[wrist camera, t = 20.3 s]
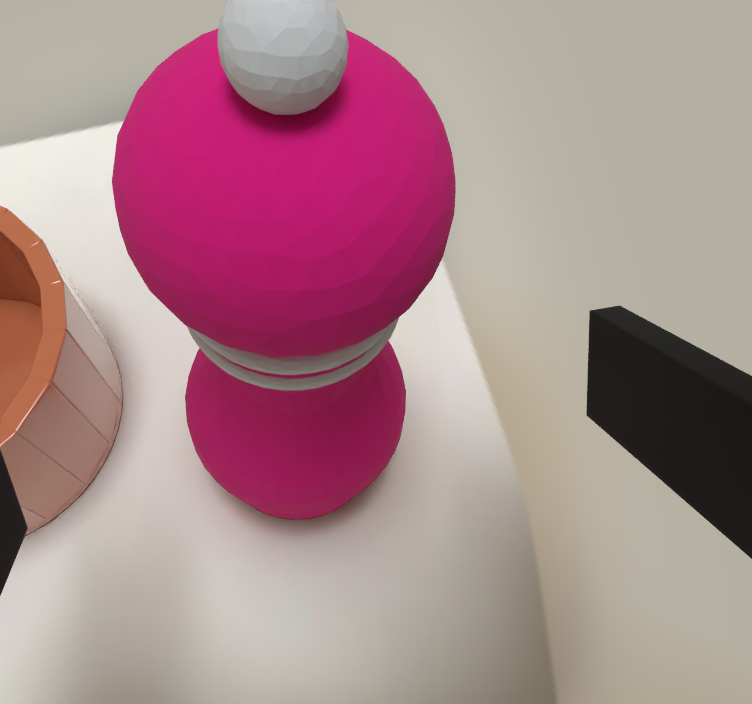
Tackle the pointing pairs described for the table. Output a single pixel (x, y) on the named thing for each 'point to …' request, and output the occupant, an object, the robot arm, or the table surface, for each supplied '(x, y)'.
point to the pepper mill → (287, 242)
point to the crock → (50, 379)
